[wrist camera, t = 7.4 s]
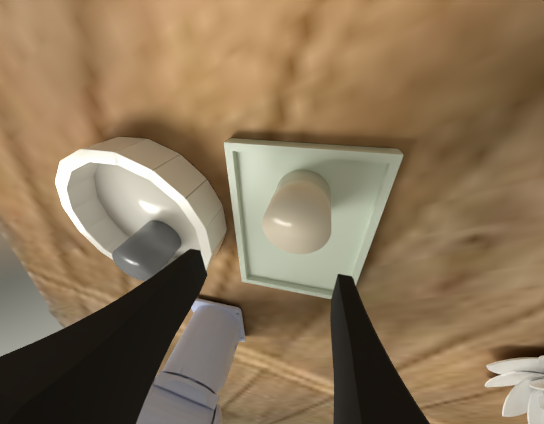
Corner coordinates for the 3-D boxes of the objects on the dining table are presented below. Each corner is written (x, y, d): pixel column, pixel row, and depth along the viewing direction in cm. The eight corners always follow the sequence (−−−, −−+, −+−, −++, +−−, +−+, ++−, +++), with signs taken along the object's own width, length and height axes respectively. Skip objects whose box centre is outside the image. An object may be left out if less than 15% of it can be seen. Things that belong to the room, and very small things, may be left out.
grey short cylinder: (185, 253, 24) (161, 284, 21) (152, 247, 25) (123, 276, 22) (175, 223, 22) (145, 253, 18) (139, 217, 23) (104, 245, 19)
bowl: (233, 268, 25) (220, 293, 22) (127, 248, 28) (105, 269, 25) (213, 143, 17) (189, 158, 14) (64, 132, 19) (19, 143, 17)
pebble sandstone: (326, 220, 18) (325, 258, 14) (275, 214, 18) (263, 248, 15) (335, 172, 15) (337, 203, 12) (276, 167, 16) (261, 195, 12)
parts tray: (348, 293, 23) (349, 302, 22) (245, 273, 25) (241, 281, 24) (398, 148, 14) (403, 154, 13) (229, 138, 16) (223, 142, 15)
